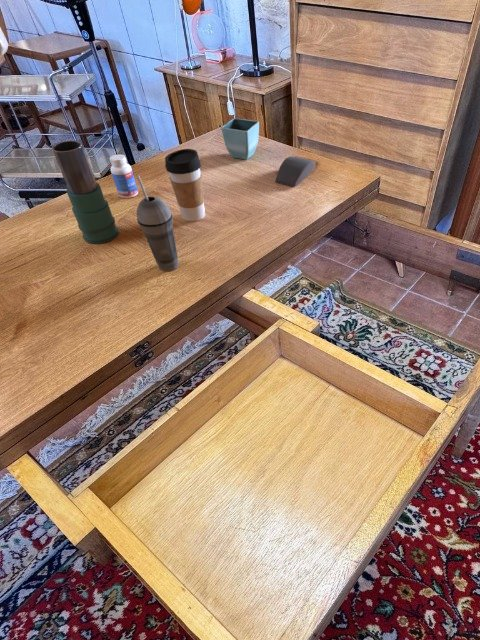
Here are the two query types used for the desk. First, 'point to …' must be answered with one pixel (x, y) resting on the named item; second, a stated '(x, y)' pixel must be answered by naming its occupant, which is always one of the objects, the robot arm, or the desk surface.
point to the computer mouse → (294, 170)
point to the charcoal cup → (74, 167)
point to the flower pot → (241, 137)
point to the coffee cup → (187, 182)
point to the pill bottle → (123, 176)
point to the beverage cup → (158, 230)
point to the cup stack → (94, 216)
